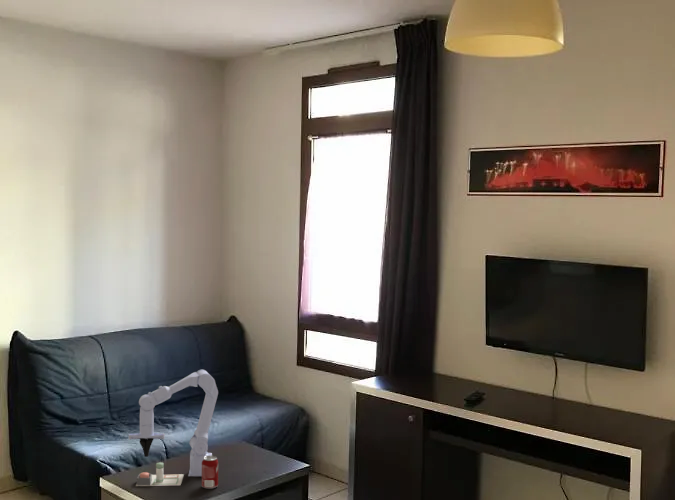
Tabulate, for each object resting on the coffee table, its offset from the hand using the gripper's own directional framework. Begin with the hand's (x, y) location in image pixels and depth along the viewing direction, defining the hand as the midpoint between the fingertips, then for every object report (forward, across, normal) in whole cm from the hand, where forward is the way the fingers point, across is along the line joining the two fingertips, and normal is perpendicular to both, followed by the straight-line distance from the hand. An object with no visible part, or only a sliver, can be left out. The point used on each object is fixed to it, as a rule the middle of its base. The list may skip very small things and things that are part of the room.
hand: (146, 456), depth 319 cm
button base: (+10, 0, +5) cm, 11 cm away
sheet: (+10, -6, +2) cm, 12 cm away
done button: (+9, 0, +5) cm, 11 cm away
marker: (+10, -6, +4) cm, 12 cm away
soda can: (+10, -27, +10) cm, 31 cm away
